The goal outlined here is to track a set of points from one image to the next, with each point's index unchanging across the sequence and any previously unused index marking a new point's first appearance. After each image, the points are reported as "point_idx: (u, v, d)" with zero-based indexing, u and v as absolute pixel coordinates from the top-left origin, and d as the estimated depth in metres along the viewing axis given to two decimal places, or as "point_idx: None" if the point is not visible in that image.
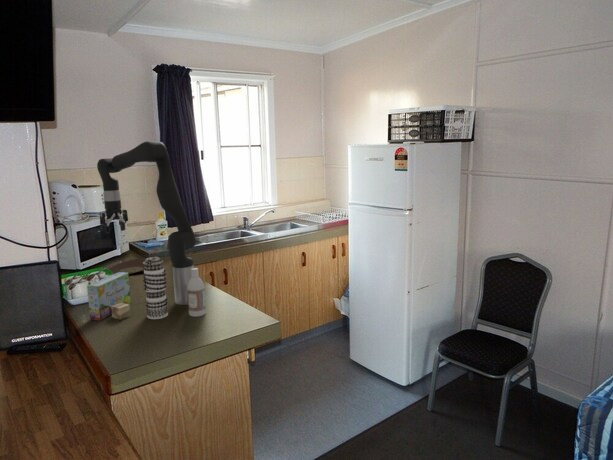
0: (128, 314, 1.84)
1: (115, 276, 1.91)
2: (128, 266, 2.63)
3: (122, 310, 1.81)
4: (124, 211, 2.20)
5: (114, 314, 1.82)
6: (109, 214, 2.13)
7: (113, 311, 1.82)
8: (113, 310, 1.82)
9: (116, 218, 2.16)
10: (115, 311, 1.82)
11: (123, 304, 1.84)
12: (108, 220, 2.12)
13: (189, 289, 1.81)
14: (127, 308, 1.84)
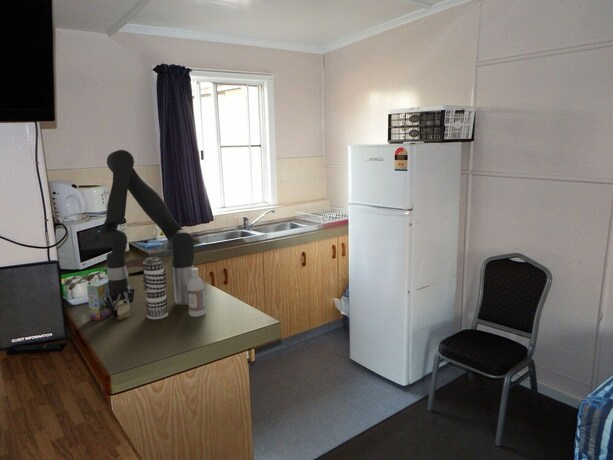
0: (128, 314, 1.84)
1: None
2: (128, 266, 2.63)
3: (122, 310, 1.81)
4: (131, 290, 1.87)
5: None
6: (114, 296, 1.79)
7: None
8: None
9: (121, 298, 1.82)
10: None
11: (123, 304, 1.84)
12: (115, 303, 1.80)
13: (189, 289, 1.81)
14: (127, 308, 1.84)
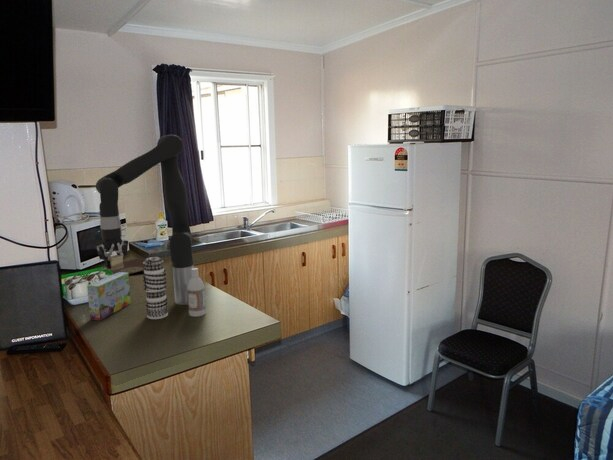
0: (121, 265, 1.81)
1: (115, 276, 1.91)
2: (128, 266, 2.63)
3: (115, 261, 1.78)
4: (125, 242, 1.84)
5: None
6: (107, 246, 1.76)
7: None
8: None
9: (114, 249, 1.79)
10: None
11: (116, 255, 1.81)
12: (108, 253, 1.77)
13: (189, 289, 1.81)
14: (120, 259, 1.80)
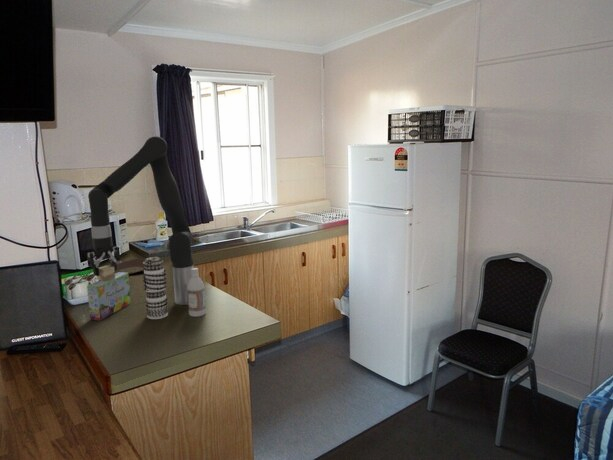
0: (113, 276, 1.87)
1: (115, 276, 1.91)
2: (128, 266, 2.63)
3: (106, 272, 1.84)
4: (116, 249, 1.89)
5: (99, 276, 1.85)
6: (98, 254, 1.81)
7: None
8: None
9: (106, 257, 1.85)
10: (100, 273, 1.84)
11: (108, 266, 1.87)
12: (97, 261, 1.81)
13: (189, 289, 1.81)
14: (112, 270, 1.86)
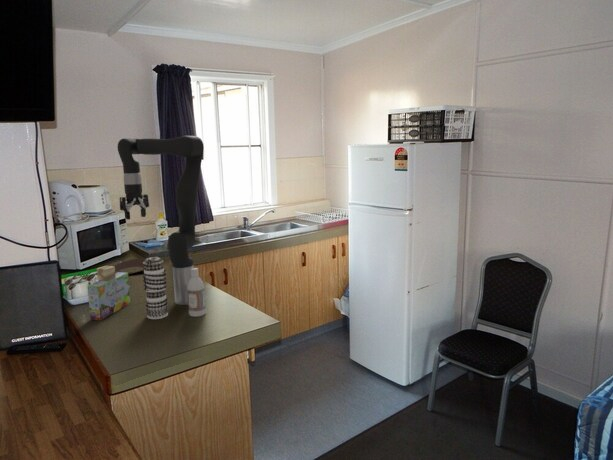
0: (113, 276, 1.87)
1: None
2: (128, 266, 2.63)
3: (107, 272, 1.84)
4: (145, 196, 2.05)
5: (99, 276, 1.85)
6: (129, 199, 1.97)
7: (99, 273, 1.85)
8: (99, 271, 1.85)
9: (137, 203, 2.01)
10: (100, 273, 1.84)
11: (108, 266, 1.87)
12: (128, 205, 1.97)
13: (189, 289, 1.81)
14: (112, 270, 1.86)
